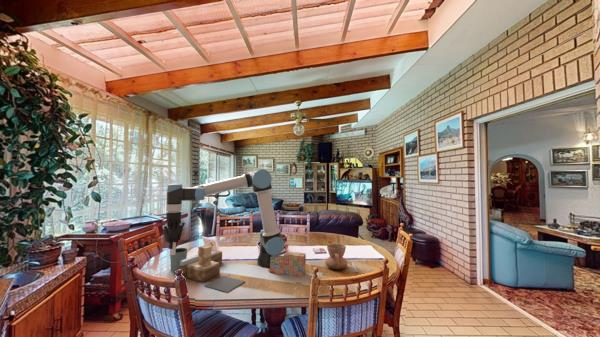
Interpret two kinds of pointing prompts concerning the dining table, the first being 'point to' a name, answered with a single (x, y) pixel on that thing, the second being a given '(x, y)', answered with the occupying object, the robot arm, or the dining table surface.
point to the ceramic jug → (336, 256)
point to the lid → (203, 260)
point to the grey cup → (178, 258)
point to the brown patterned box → (288, 264)
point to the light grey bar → (189, 260)
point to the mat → (225, 284)
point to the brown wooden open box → (203, 275)
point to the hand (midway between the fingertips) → (172, 254)
